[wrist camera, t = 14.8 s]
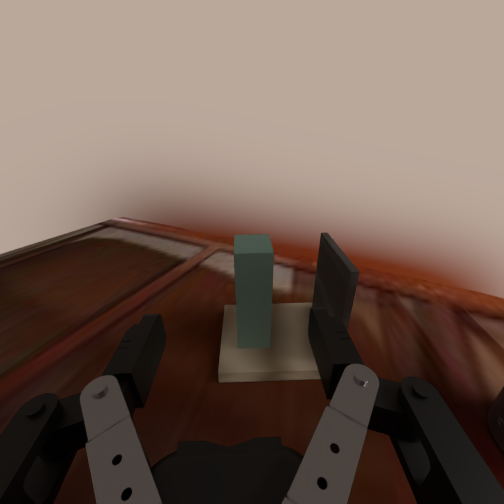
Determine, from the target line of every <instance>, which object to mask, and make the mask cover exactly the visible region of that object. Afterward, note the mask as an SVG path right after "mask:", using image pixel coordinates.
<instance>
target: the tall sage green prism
mask: <svg viewBox="0 0 504 504" xmlns="http://www.w3.org/2000/svg"><path fill="white" fill-rule="evenodd" d="M273 262H274V252H273V248H272V244H271V241H270V237H269V235H268V234H255V235H254V234H252V235H251V234H250V235H235V241H234V267H235V291H236V315H237V339H238V349H243V348H268V347H270V345H271V317H272V289H273Z"/></svg>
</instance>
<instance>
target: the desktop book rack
mask: <svg viewBox="0 0 504 504" xmlns="http://www.w3.org/2000/svg"><path fill="white" fill-rule="evenodd" d="M358 277H359V271H358V269H357V268H356V267H355V266H354V265H353V263H352V262H351V261H350V260H349V259H348V257H347V256H346V255H345V254H344V252H343V251H342V250H341V249H340V248H339V246H338V245H337V244H336V243H335V242H334V240H333V239H332V238H331V237H330V235H329V234H328V233H321V238H320V247H319V255H318V262H317V270H316V279H315V287H314V295H313V303H284V304H272V317H271V345H270V347H268V348H243V349H238V339H237V315H236V305H225V308H224V318H223V328H222V339H221V349H220V359H219V369H218V378H219V383H223V382H251V381H279V380H307V379H321V378H320V374H319V371H318V368H317V365H316V361H315V358H314V355H313V352H312V348H311V345H310V342H309V337H308V324H309V314H310V308H320V307H325V308H326V310H327V312H328V314H329V317H337V318H338V319H339V320H340V321H341V322H342V323H343V324H344V326H345V328H346V330H347V329H348V324H349V319H350V315H351V310H352V305H353V300H354V296H355V291H356V286H357V281H358Z"/></svg>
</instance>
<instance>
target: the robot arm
mask: <svg viewBox="0 0 504 504" xmlns="http://www.w3.org/2000/svg"><path fill="white" fill-rule="evenodd" d="M308 337H309V342H310V345H311V348H312V352H313V355H314V358H315V361H316V365H317V368H318V371H319V374H320V378H321V381H322V384H323V387H324V391H325V394H326V397H327V399H332V400H331V402H330V404H329V405H327V406H326V408H325V410H324V412H323V415H322V417H321V419H320V422H319V424H318V426H317V428H316V431H315V433H314V435H313V437H312V440H311V442H310V444H309V446H308V449H307V451H306V453H305V456H302V455H301V454H300V453H298V452H297V451H295V450H293V449H291V448H289V447H286V446H283V445H281V438H280V437H265V438H254V439H251V440H248V441H246V442H243V443H240V444H237V445H234V446H231V447H226V446H223V445H219V444H215V443H211V442H207V441H188V442H179V443H178V448H177V451H176V452H173V453H171V454H169V455H167V456H166V457H164V458H163V459H161V460H160V461H158V462H157V463H156V464H155V465H154V466H153V467H151V465H150V462H149V460H148V457H147V454H146V452H145V449H144V446H143V444H142V441H141V438H140V436H139V433H138V430H137V428H136V425H135V422H134V420H133V417H132V416H133V413H134V410H135V408H144V406H145V403H146V401H147V398H148V395H149V392H150V389H151V386H152V383H153V380H154V377H155V375H156V372H157V369H158V366H159V363H160V360H161V357H162V354H163V352H164V349H165V345H166V334H165V330H164V326H163V322H162V318H161V315H160V314H146V315H144V316H143V318H142V320H141V322H140V324H139V325H133V326H132V327H131V328H130V329H129V330H128V331H127V332H126V333H125V335H124V337H123V339H122V340H121V343H120V344H119V346H118V348H117V350H116V351H115V353H114V355H113V356H112V358H111V360H110V362H109V364H108V365H107V367H106V369H105V371H104V373H103V374H102V376H101V377H99V378H97V379H95V380H93V381H92V382H90V383H89V384H88V385H87V386H86V387H85V388H84V390H83V391H82V392H81V393H78V394H75V395H72V396H69V397H66V398H63V399H60V400H59V399H58V398H57V396H56V395H55V394H52V393H46V394H42V395H39V396H37V397H35V398H33V399H31V400H30V401H28V402H27V403H25V404H24V405H23V406H22V407H21V408H20V409H19V410H18V412H17V413H16V414H15V416H14V417H13V418H12V420H11V421H10V423H9V424H8V425H7V427H6V428H5V430H4V431H3V432H2V434H1V435H0V504H53V503H54V501H55V498H56V496H57V494H58V492H59V490H60V487H61V485H62V483H63V481H64V479H65V476H66V474H67V472H68V470H69V468H70V465H71V463H72V461H73V459H74V457H75V454H76V452H77V450H79V449H81V448H84V447H86V451H87V456H88V462H89V467H90V472H91V477H92V482H93V488H94V493H95V498H96V503H97V504H347V501H348V497H349V494H350V490H351V486H352V483H353V479H354V476H355V472H356V468H357V465H358V461H359V458H360V454H361V450H362V447H363V443H364V440H365V436H366V432H367V429H370V430H373V431H377V432H380V433H384V434H387V435H389V436H390V439H391V441H392V443H393V446H394V448H395V451H396V453H397V455H398V458H399V460H400V463H401V465H402V467H403V470H404V472H405V475H406V477H407V480H408V482H409V484H410V487H411V489H412V492H413V494H414V496H415V499H416V501H417V504H504V490H503V488H502V487H501V485H500V484H499V482H498V481H497V479H496V478H495V476H494V475H493V473H492V472H491V470H490V469H489V467H488V466H487V464H486V463H485V461H484V460H483V458H482V457H481V455H480V454H479V452H478V451H477V449H476V448H475V446H474V445H473V443H472V442H471V440H470V439H469V437H468V436H467V434H466V433H465V431H464V430H463V428H462V427H461V425H460V424H459V422H458V421H457V419H456V418H455V416H454V415H453V413H452V412H451V410H450V409H449V407H448V406H447V404H446V403H445V401H444V400H443V398H442V397H441V395H440V394H439V392H438V391H437V390H436V389H435V388H434V387H433V386H432V385H431V384H430V383H428V382H427V381H425V380H423V379H420V378H417V377H406V378H404V379H403V380H402V382H401V383H397V382H393V381H389V380H385V379H382V378H379V377H377V376H376V374H375V373H374V372H373V371H372V370H371V369H369V368H368V367H366V366H365V365H364V364H363V362H362V360H361V358H360V356H359V354H358V352H357V350H356V348H355V346H354V344H353V342H352V340H351V338H350V336H349V334H348V333H347V330H346V328H345V326H344V324H343V323H342V322H341V321H340V320H339V319H338V318H337V317H329V314H328V312H327V310H326V308H325V307H320V308H310V314H309V324H308ZM487 422H488V425H489V429H490V431H491V433H492V435H493V437H494V439H495V441H496V443H497V444H498V445H499V447H500V448H501V450H502V451H503V452H504V387H503V388H502V390H501V391H500V393H499V394H498V396H497V397H496V399H495V400H494V402H493V403H492V405H491V406H490V408H489V411H488V413H487Z"/></svg>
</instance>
